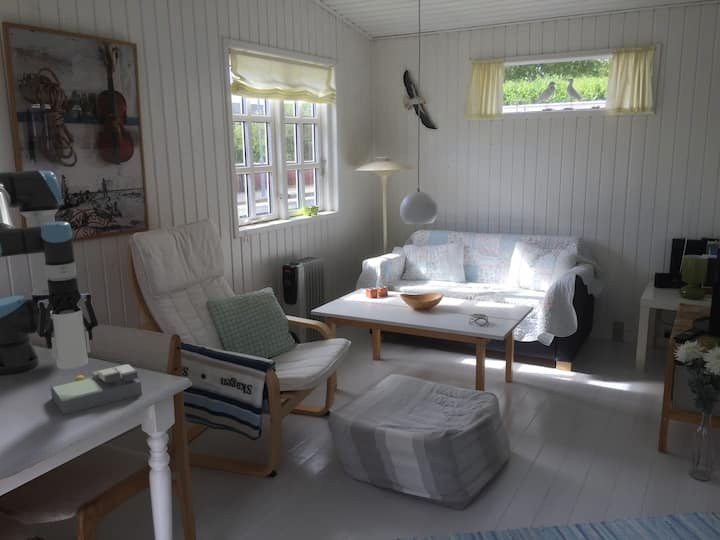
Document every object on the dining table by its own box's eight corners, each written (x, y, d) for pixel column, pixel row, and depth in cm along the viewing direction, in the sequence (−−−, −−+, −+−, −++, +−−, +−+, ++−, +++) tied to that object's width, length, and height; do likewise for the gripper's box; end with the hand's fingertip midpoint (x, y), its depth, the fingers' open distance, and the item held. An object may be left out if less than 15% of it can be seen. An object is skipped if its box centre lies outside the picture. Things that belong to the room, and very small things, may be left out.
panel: (52, 398, 188) (49, 376, 186) (126, 379, 201) (124, 359, 200) (63, 414, 177) (60, 391, 176) (141, 394, 190) (139, 372, 189)
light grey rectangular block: (97, 371, 190) (105, 376, 184) (111, 367, 192) (119, 372, 186) (98, 377, 190) (106, 382, 184) (112, 374, 193) (120, 379, 186)
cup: (76, 370, 177) (69, 315, 173) (50, 368, 178) (43, 313, 175) (94, 359, 185) (88, 306, 181) (69, 357, 186) (62, 305, 183)
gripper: (22, 286, 167) (33, 367, 172) (105, 274, 179) (113, 350, 184) (17, 281, 173) (28, 359, 178) (97, 269, 185) (105, 343, 190)
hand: (71, 354), depth 181 cm, fingers closed on cup, 8 cm apart
